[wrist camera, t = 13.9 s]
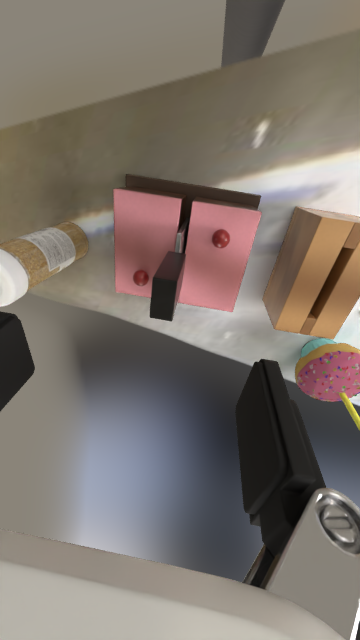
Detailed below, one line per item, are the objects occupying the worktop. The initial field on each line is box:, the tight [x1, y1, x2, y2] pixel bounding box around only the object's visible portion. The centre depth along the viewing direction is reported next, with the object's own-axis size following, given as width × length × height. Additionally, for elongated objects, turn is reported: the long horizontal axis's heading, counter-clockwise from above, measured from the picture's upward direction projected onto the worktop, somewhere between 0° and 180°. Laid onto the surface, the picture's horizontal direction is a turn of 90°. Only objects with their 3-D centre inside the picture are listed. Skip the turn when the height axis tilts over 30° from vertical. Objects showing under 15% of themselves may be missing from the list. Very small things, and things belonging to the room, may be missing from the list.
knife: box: [150, 218, 190, 321], centre depth 21 cm, size 6×2×14 cm, turn 173°
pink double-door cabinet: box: [113, 174, 262, 312], centre depth 25 cm, size 12×14×7 cm
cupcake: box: [295, 338, 360, 430], centre depth 28 cm, size 9×8×12 cm
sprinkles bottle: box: [0, 222, 88, 307], centre depth 23 cm, size 5×5×13 cm
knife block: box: [262, 207, 360, 339], centre depth 24 cm, size 11×6×7 cm, turn 173°
